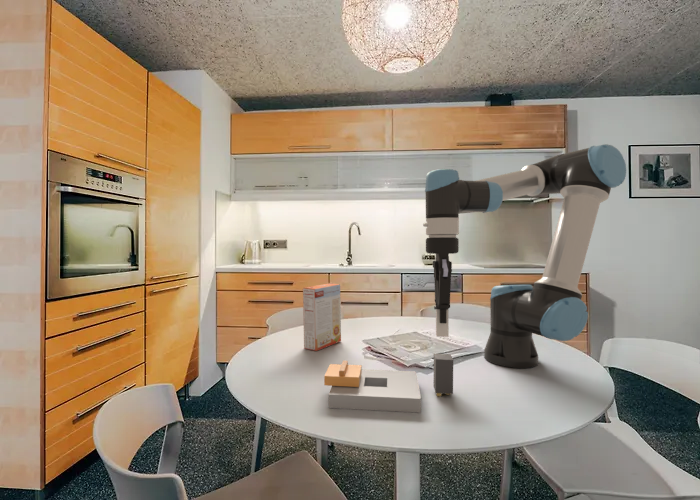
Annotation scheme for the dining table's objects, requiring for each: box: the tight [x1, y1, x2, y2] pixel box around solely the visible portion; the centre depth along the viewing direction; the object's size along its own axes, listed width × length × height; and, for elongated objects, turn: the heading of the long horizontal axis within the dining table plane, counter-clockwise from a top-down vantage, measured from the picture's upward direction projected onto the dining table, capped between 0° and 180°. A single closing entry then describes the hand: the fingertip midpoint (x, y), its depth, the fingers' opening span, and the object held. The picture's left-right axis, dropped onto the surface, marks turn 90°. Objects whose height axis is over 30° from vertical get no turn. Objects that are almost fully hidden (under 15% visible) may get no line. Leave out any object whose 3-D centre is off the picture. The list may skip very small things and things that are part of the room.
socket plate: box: [328, 368, 422, 414], centre depth 87 cm, size 20×16×3 cm
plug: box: [433, 353, 454, 397], centre depth 87 cm, size 4×4×9 cm
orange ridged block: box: [323, 359, 363, 387], centre depth 88 cm, size 8×8×3 cm
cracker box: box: [302, 282, 342, 352], centre depth 126 cm, size 14×6×21 cm, turn 144°
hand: (442, 335), depth 87 cm, fingers closed
